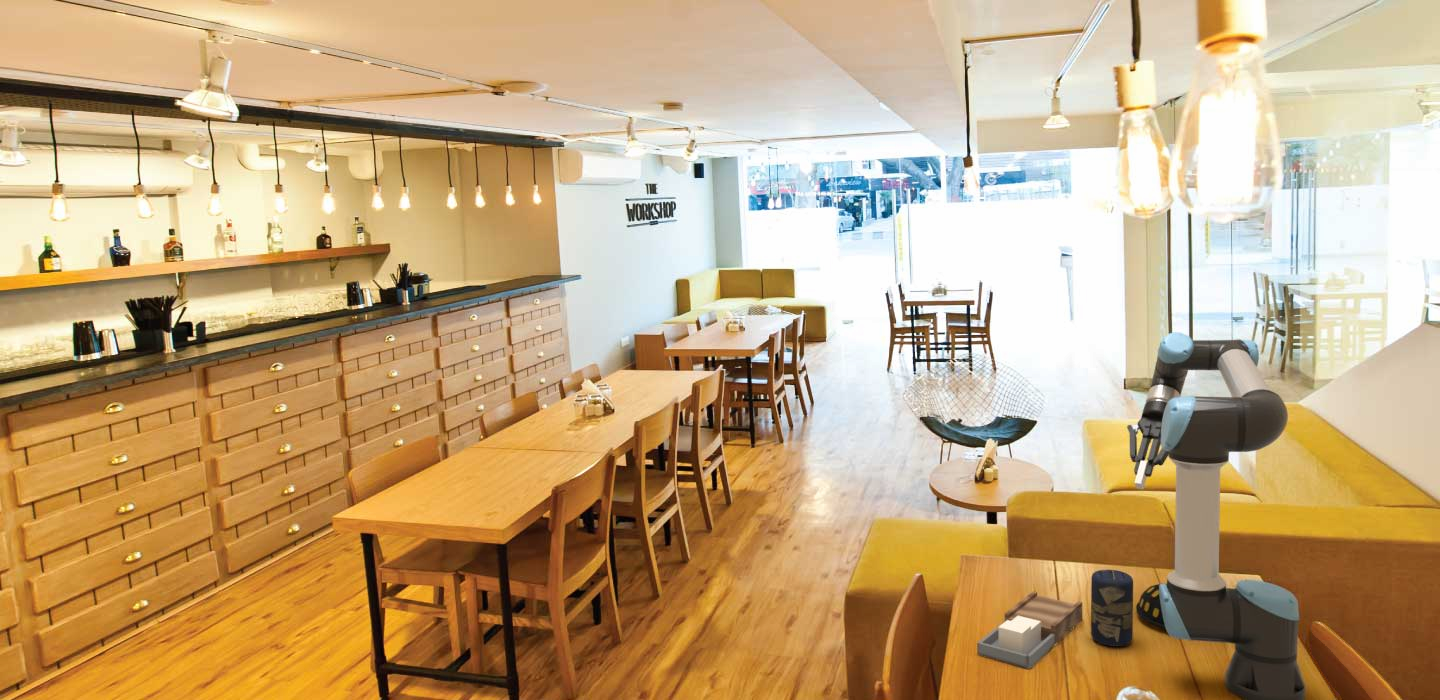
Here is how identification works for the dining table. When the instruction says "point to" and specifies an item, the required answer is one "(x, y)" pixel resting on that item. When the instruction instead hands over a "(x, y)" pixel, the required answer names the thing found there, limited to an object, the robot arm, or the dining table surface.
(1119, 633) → the canister
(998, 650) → the tray
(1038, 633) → the block
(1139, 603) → the yellow spotted black dome
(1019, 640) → the block
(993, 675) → the dining table surface
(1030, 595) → the board
